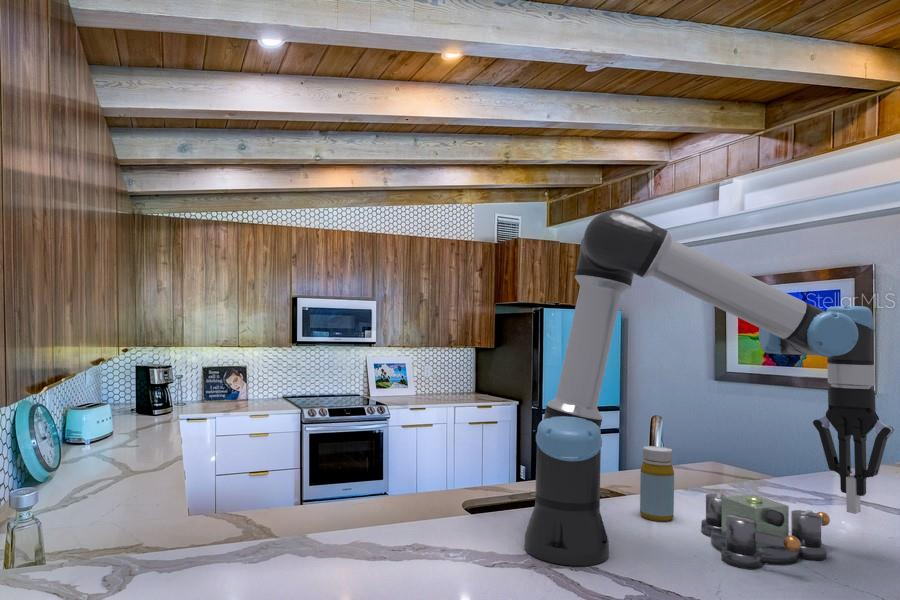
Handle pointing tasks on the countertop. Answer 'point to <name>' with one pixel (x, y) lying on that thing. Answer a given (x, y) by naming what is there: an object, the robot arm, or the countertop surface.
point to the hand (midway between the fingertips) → (853, 511)
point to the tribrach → (768, 520)
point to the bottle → (657, 484)
